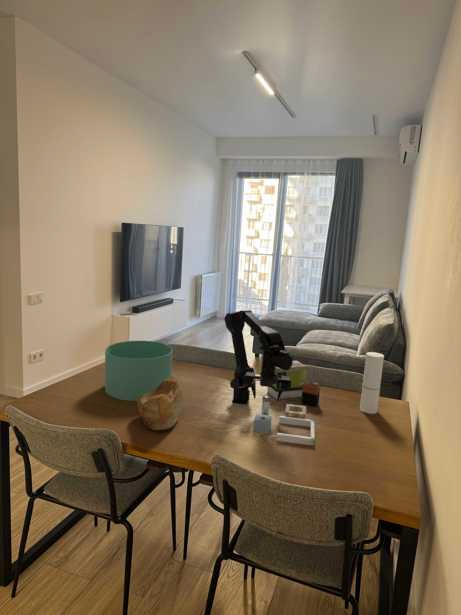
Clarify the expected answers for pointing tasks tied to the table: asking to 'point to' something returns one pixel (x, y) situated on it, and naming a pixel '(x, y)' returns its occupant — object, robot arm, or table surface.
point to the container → (136, 368)
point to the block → (262, 423)
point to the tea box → (298, 379)
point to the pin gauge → (265, 405)
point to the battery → (310, 394)
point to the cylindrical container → (371, 382)
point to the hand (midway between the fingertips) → (266, 399)
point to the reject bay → (297, 438)
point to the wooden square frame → (295, 411)
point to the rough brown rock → (161, 405)
